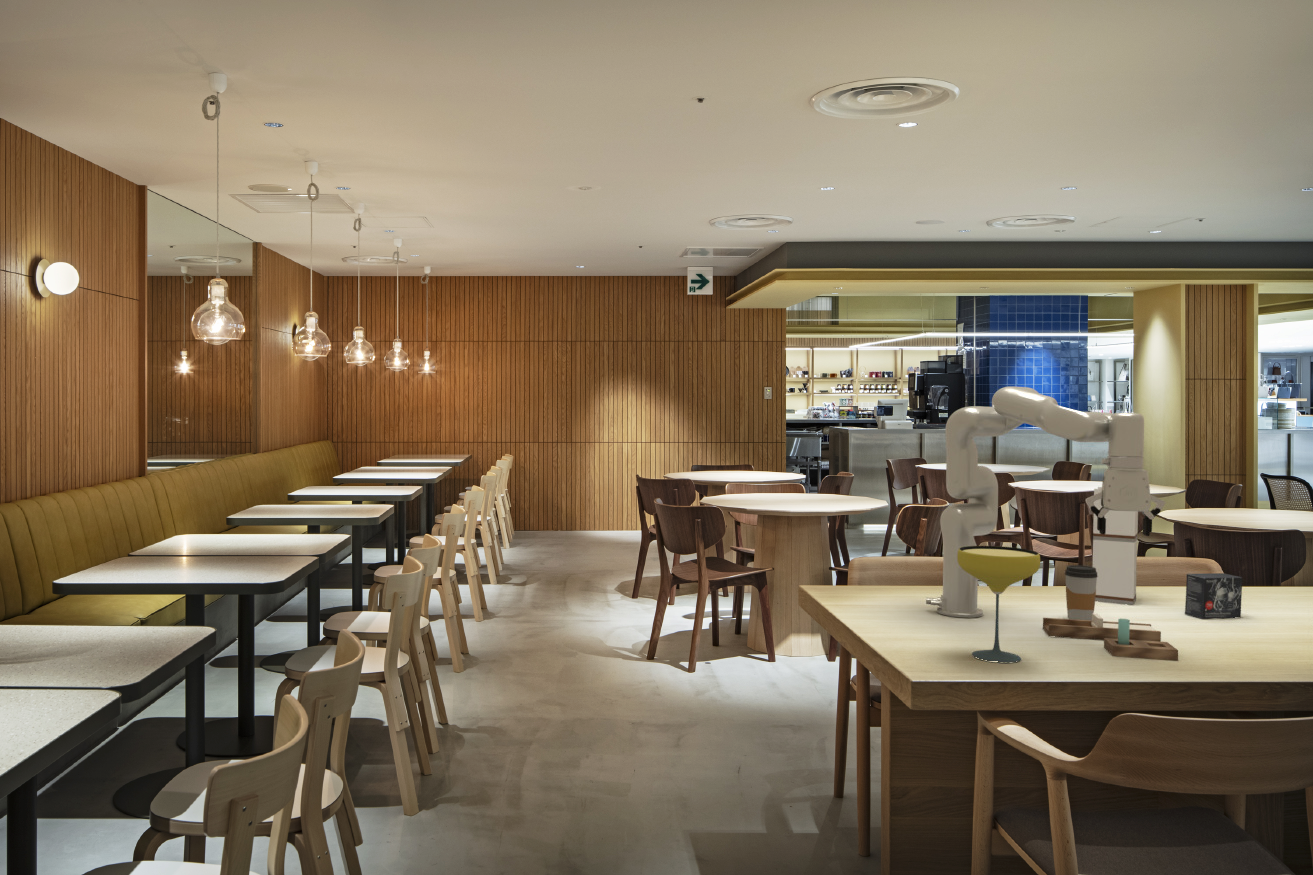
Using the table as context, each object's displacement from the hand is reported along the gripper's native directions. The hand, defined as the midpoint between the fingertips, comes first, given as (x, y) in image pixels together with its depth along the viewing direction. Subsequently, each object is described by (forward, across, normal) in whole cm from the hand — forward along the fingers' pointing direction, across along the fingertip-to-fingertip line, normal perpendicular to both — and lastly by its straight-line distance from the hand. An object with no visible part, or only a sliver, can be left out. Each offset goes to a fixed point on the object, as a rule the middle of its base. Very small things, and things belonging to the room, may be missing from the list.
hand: (1124, 534), depth 215 cm
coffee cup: (+28, -2, +33) cm, 44 cm away
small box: (+29, +36, +51) cm, 69 cm away
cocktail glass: (+28, -30, -15) cm, 44 cm away
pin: (+28, 0, -2) cm, 28 cm away
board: (+28, -2, +15) cm, 32 cm away
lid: (+26, +4, +15) cm, 31 cm away
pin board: (+28, +4, -2) cm, 29 cm away
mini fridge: (+28, +14, +68) cm, 75 cm away
